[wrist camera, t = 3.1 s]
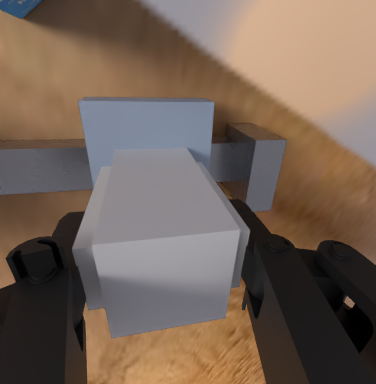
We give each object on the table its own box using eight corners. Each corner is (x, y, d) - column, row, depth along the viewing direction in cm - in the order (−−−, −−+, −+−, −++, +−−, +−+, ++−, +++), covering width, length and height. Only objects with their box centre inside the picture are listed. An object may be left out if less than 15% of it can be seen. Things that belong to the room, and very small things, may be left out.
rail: (-82, 200, 16) (-164, 249, 12) (-126, 126, 14) (-249, 153, 9) (242, 180, 20) (270, 210, 16) (250, 123, 18) (287, 139, 14)
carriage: (109, 214, 19) (77, 385, 8) (90, 94, 14) (-15, 151, 4) (193, 207, 20) (252, 348, 10) (198, 95, 16) (311, 141, 6)
